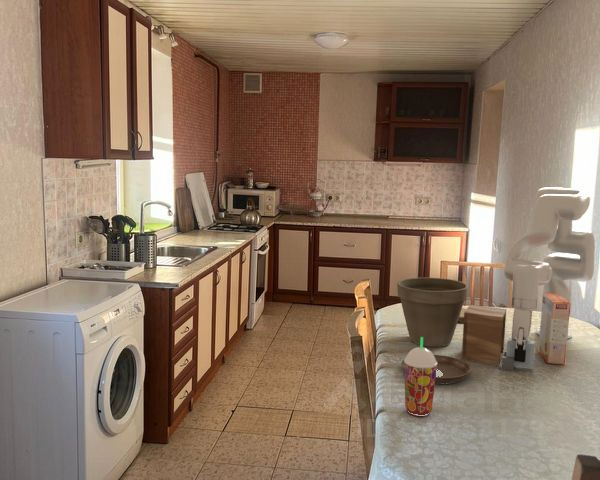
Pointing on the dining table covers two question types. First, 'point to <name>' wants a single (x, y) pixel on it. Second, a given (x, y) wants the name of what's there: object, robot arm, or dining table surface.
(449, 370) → the plant saucer
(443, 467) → the dining table surface
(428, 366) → the smoothie
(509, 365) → the hinge clips
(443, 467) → the dining table surface
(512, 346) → the door
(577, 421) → the dining table surface
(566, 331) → the cracker box
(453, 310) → the plant pot
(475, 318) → the tan wooden box
